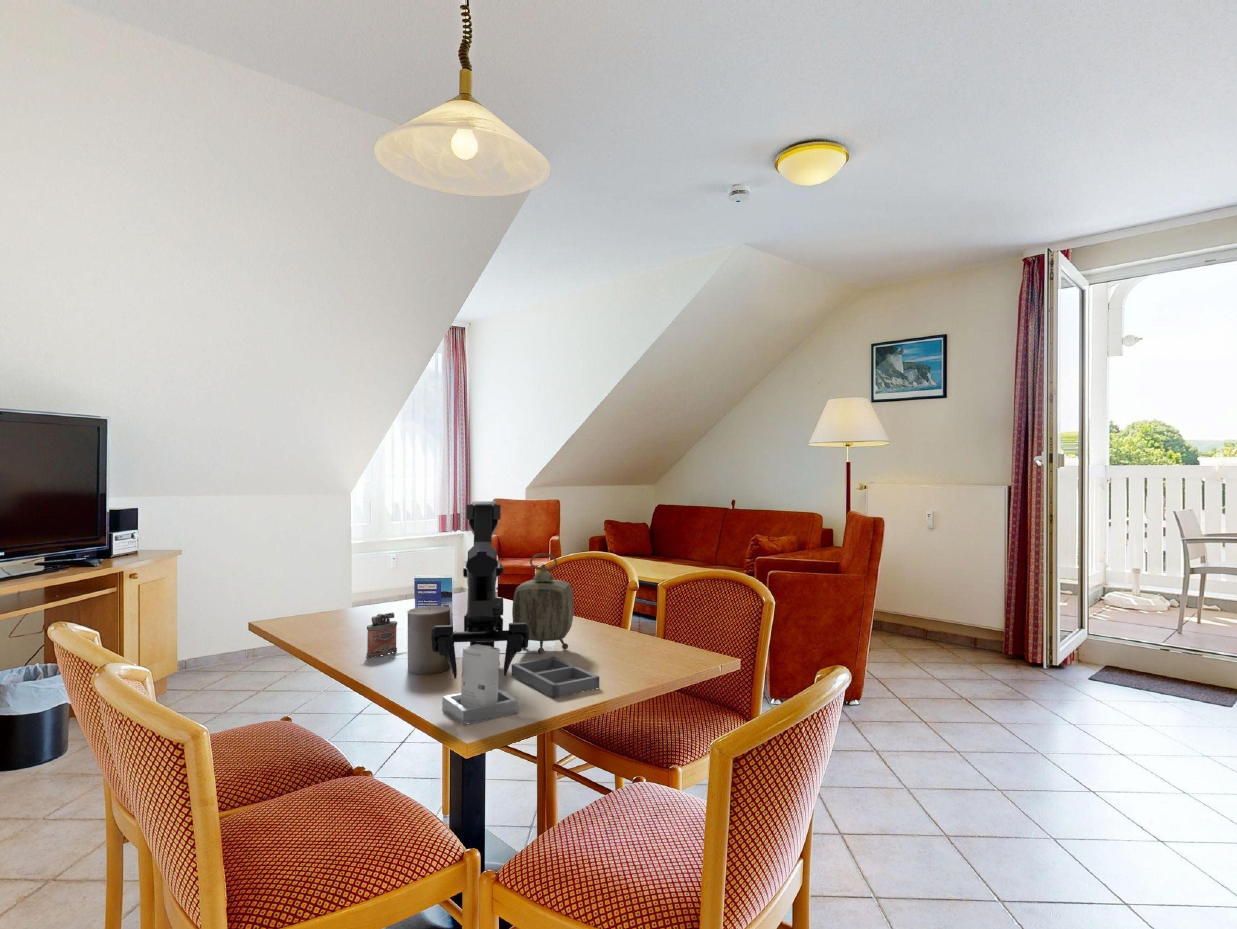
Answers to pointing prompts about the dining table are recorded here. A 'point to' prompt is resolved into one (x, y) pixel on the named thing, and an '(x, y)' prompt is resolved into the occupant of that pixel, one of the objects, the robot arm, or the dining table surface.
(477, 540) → the robot arm
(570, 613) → the tabletop clock
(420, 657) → the pillar candle
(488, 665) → the skincare box
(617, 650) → the dining table surface
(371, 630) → the lighter
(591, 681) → the rack
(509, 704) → the socket
